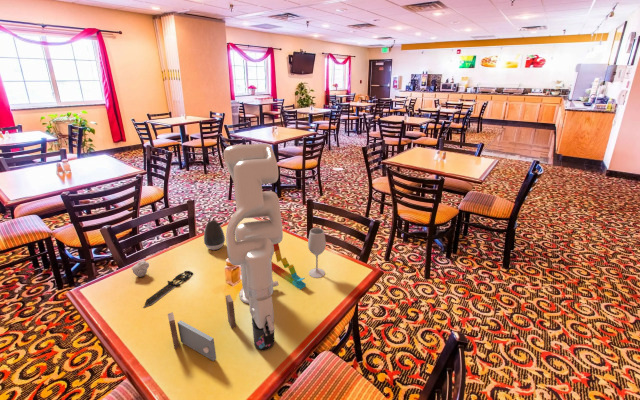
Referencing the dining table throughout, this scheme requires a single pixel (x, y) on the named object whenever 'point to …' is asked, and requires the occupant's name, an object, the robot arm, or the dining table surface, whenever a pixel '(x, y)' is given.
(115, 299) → the dining table surface
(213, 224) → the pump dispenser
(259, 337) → the supplement container
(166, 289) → the knife
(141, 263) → the white rounded lump
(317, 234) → the wineglass
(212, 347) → the door
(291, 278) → the chart
